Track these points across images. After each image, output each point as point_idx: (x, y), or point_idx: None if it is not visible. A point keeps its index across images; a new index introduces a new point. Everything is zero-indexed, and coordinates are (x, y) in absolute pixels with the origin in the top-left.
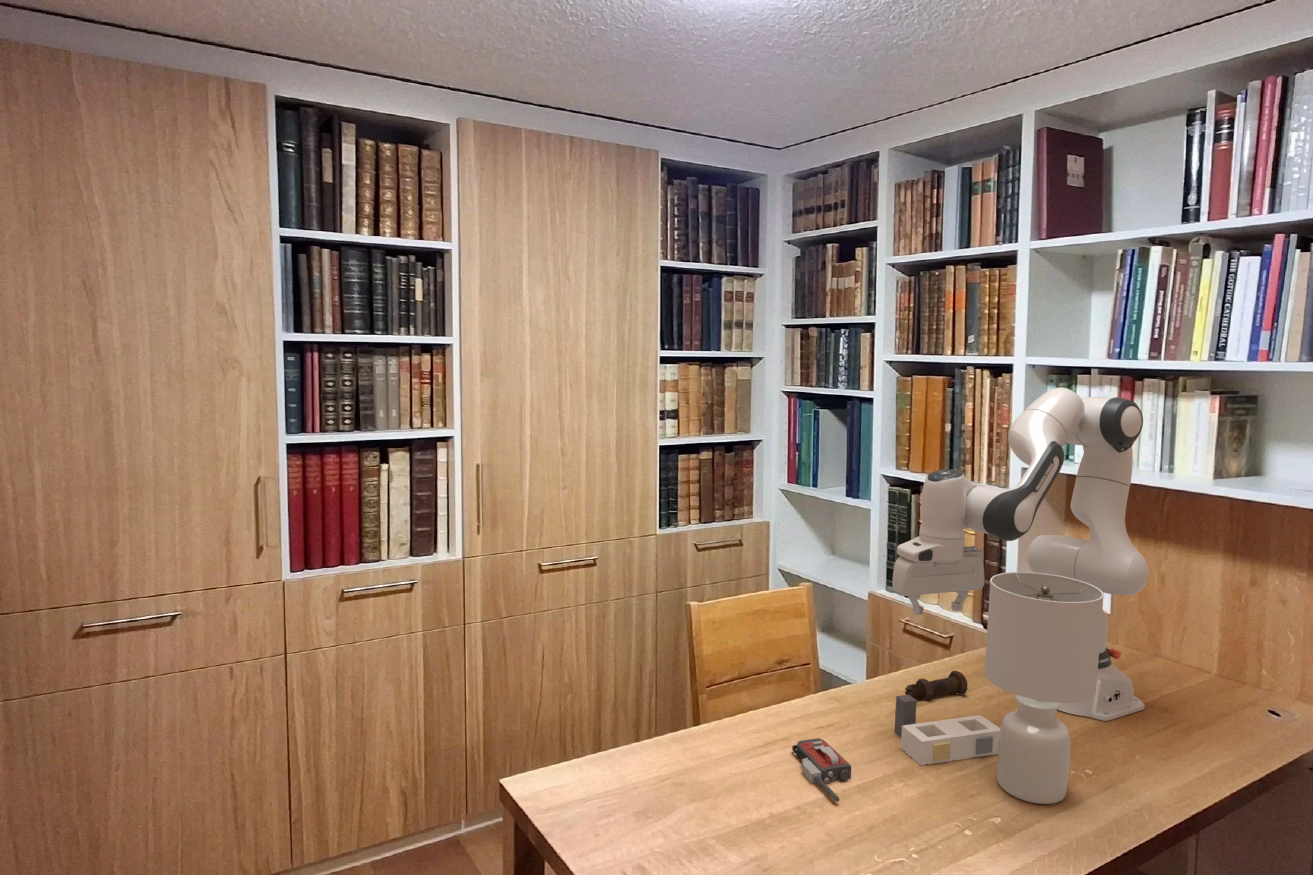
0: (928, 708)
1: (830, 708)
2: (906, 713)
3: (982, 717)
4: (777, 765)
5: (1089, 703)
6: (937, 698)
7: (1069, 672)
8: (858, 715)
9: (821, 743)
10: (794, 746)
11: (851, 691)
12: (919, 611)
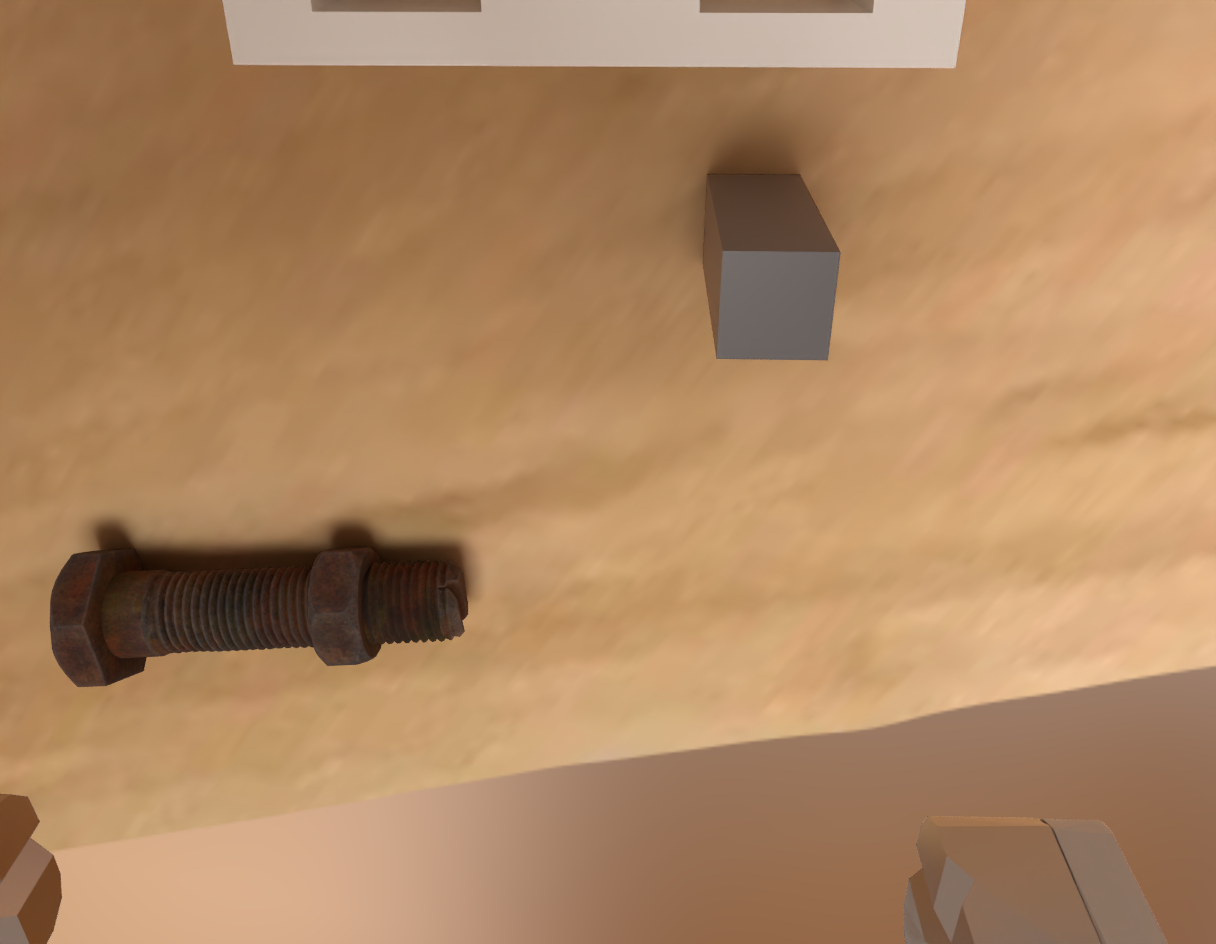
0: (406, 459)
1: (962, 590)
2: (801, 221)
3: (237, 19)
4: None
5: None
6: (286, 546)
7: None
8: (866, 487)
9: None
10: None
11: (719, 714)
12: (1076, 880)
